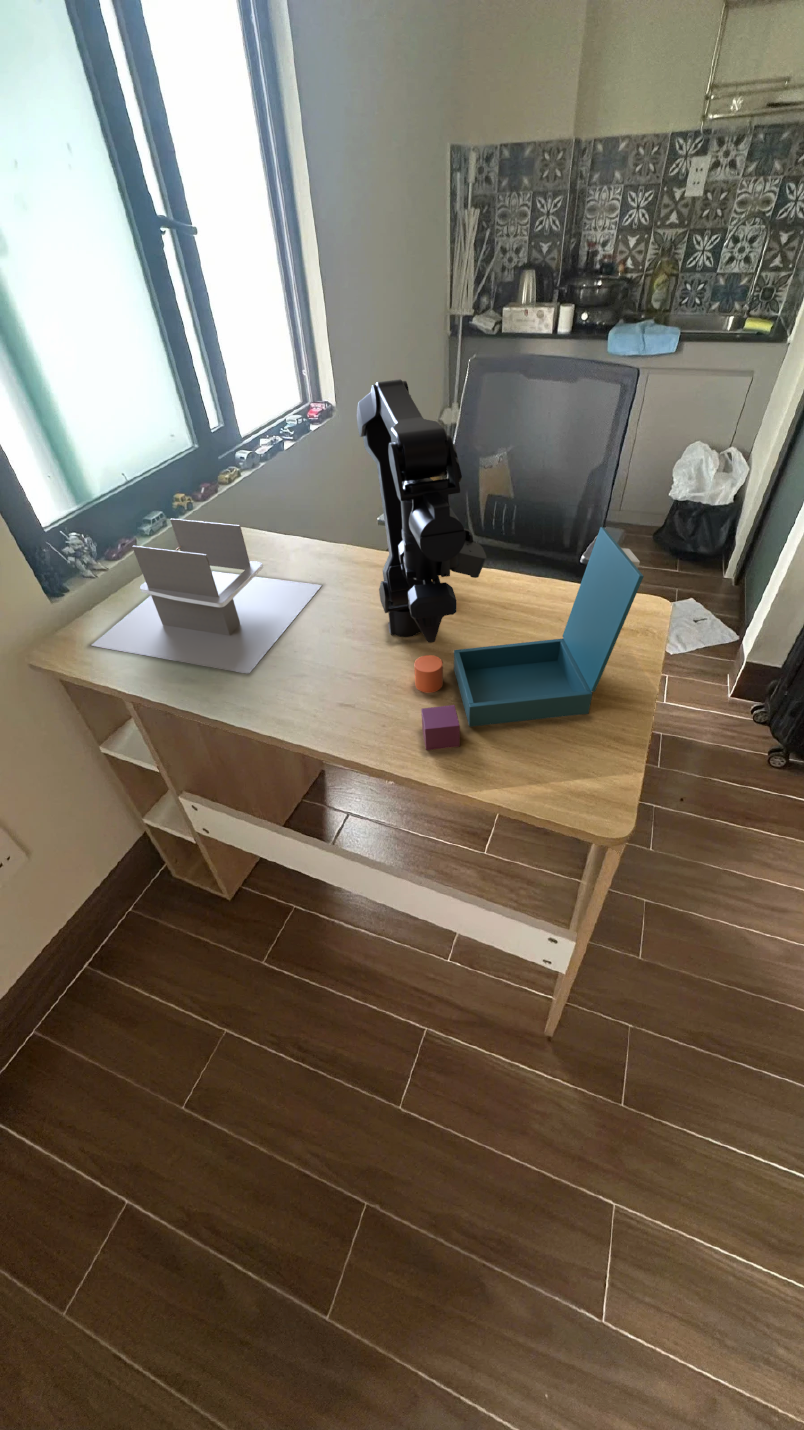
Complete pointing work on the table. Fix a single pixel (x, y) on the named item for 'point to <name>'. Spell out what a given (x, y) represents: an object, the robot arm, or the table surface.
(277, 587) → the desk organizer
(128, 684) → the table surface
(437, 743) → the purple cube
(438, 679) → the orange cylinder
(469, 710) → the box
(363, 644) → the table surface
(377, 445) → the robot arm
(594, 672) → the lunchbox lid
